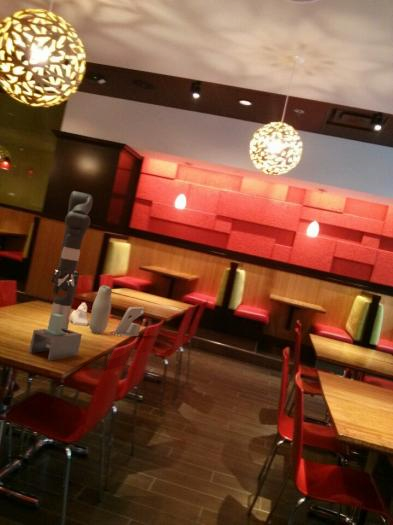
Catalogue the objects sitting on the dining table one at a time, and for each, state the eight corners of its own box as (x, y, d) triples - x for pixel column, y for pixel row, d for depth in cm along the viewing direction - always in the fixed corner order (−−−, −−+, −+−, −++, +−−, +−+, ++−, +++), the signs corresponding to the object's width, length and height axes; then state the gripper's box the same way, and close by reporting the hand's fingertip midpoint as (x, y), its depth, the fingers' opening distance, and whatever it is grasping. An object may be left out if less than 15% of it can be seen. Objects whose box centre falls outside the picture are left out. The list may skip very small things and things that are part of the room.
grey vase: (108, 334, 259) (118, 288, 258) (96, 335, 250) (107, 287, 249) (95, 329, 263) (105, 284, 263) (83, 330, 254) (94, 283, 254)
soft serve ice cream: (88, 325, 280) (98, 305, 279) (83, 331, 265) (93, 310, 264) (71, 316, 279) (80, 296, 278) (64, 321, 264) (74, 301, 263)
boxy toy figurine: (50, 344, 199) (57, 313, 198) (60, 348, 196) (67, 316, 196) (40, 345, 193) (47, 313, 193) (51, 349, 191) (58, 317, 190)
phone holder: (127, 331, 280) (133, 303, 280) (140, 335, 275) (146, 307, 275) (110, 332, 265) (116, 303, 264) (123, 337, 260) (129, 307, 260)
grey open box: (57, 347, 208) (61, 327, 208) (77, 355, 203) (81, 334, 203) (28, 352, 192) (33, 330, 192) (49, 360, 187) (54, 337, 187)
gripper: (73, 257, 202) (66, 292, 202) (52, 255, 189) (44, 292, 189) (86, 261, 199) (79, 296, 199) (65, 258, 186) (57, 296, 186)
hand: (62, 294), depth 194 cm, fingers open, 8 cm apart
